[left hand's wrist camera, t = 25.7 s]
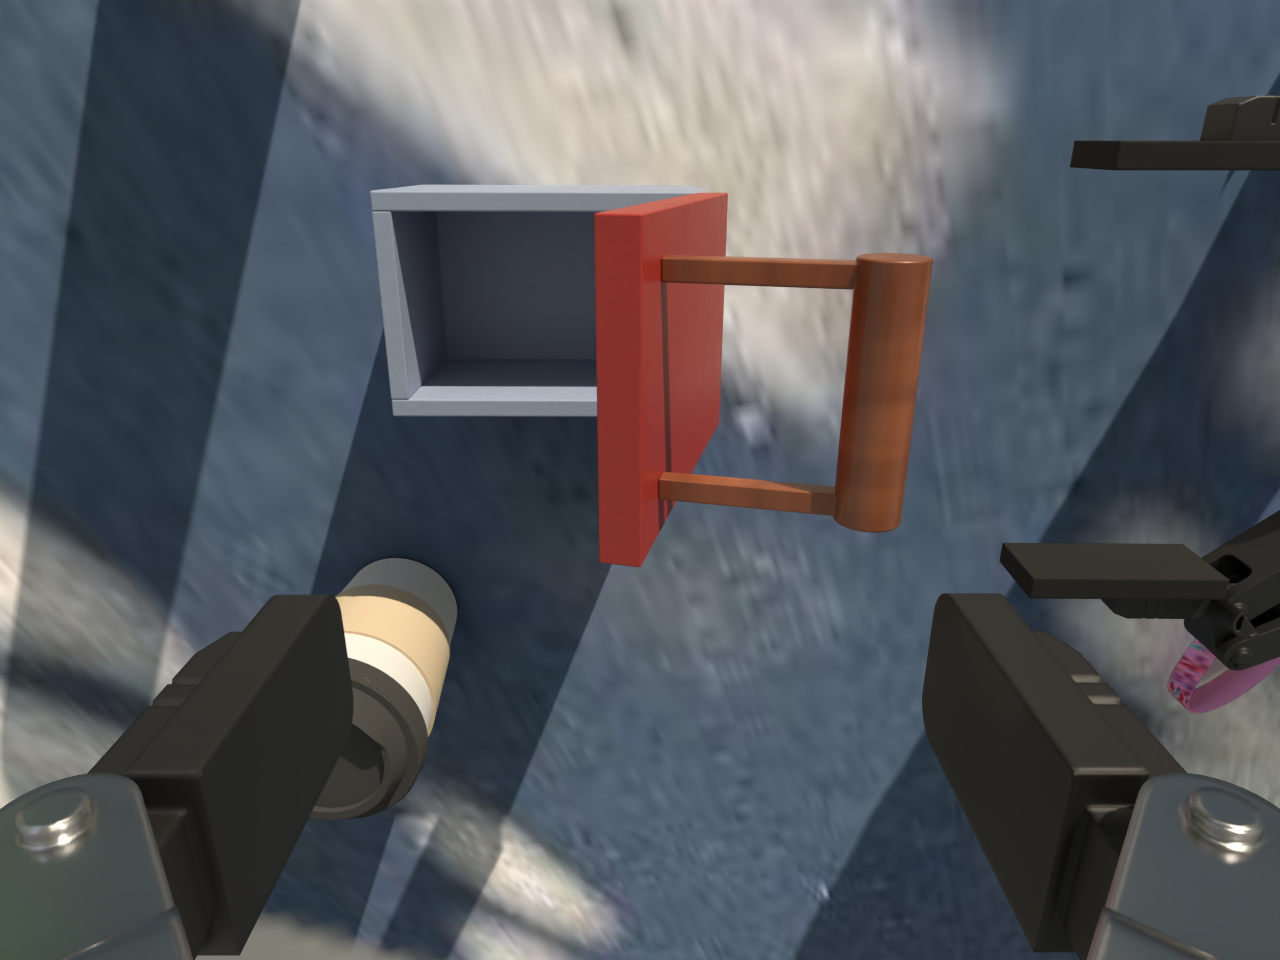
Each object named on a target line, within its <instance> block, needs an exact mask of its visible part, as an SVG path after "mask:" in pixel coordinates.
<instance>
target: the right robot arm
mask: <svg viewBox="0 0 1280 960" xmlns="http://www.w3.org/2000/svg"><path fill="white" fill-rule="evenodd" d="M1070 167H1075V168H1090V169H1104V170H1280V96H1249V97H1235V98H1226V99H1223V100H1221V101H1218V102H1216V103H1213V104H1211V105H1208V108H1207V112H1206V116H1205V121H1204V125H1203V129H1202V134H1201V138H1200V141H1075V142H1074V148H1073V153H1072V159H1071V164H1070ZM1000 562H1001V564H1002V565H1003V566H1004V567H1005V569H1006V570H1007V571H1008V572H1009V573H1010V575H1011V576H1012V577H1013V578H1014V580H1015V581H1016V582H1017V583H1018V584H1019V586H1020V587H1021V588H1022V589H1023V591H1024V592H1025V593H1026V594H1027V596H1028V597H1029V598H1064V599H1101V600H1102V601H1103V602H1104V603H1105V604H1106V605H1107V606H1108V607H1109V608H1110V609H1111V610H1112V611H1113V612H1114V613H1115V614H1118V615H1120V616H1123V617H1125V618H1146V619H1155V618H1157V619H1185V620H1184V626H1185V628H1186V629H1187V631H1188V632H1189V633H1190V634H1192V635H1193V636H1194V637H1195V638H1196V639H1197V640H1198V641H1199V642H1200V643H1201V644H1202V645H1203V646H1205V647H1206V648H1207V649H1208V650H1209V651H1210V652H1211V653H1212V654H1213V655H1214V656H1215V657H1216V658H1218V659H1219V660H1220V661H1221V662H1222V663H1223V664H1224V665H1225V666H1226V667H1228V668H1229V669H1231V670H1236V671H1240V670H1245V669H1248V668H1250V667H1253V666H1256V665H1259V664H1262V663H1264V662H1267V661H1270V660H1273V659H1276V658H1278V657H1280V510H1279V511H1278V512H1276V513H1274V514H1273V515H1271V516H1269V517H1268V518H1266V519H1264V520H1263V521H1261V522H1260V523H1258V524H1256V525H1255V526H1253V527H1251V528H1250V529H1248V530H1247V531H1245V532H1243V533H1242V534H1240V535H1238V536H1237V537H1235V538H1233V539H1232V540H1230V541H1229V542H1227V543H1225V544H1224V545H1222V546H1220V547H1219V548H1217V549H1216V550H1214V551H1212V552H1211V553H1209V554H1207V555H1206V556H1204V557H1203V558H1200V557H1199V556H1198V555H1196V554H1195V553H1194V552H1192V551H1191V550H1190V549H1188V548H1187V547H1186V546H1185V545H1183V544H1094V543H1003V544H1002V550H1001V556H1000ZM1231 583H1237V584H1235V585H1234V586H1233V585H1232V584H1231Z"/></svg>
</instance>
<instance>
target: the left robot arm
mask: <svg viewBox="0 0 1280 960" xmlns="http://www.w3.org/2000/svg"><path fill="white" fill-rule="evenodd" d="M353 704H354V702H353V690H352V683H351V676H350V669H349V662H348V655H347V648H346V641H345V634H344V627H343V620H342V613H341V608H340V605H339V602H338V600H337V599H336V597H335V596H333V595H274V596H273V597H271V598H270V599H269V600H268V602H267V603H266V604H265V605H264V606H263V607H262V609H261V610H260V611H259V612H258V613H257V615H256V616H255V617H254V618H253V619H252V621H251V622H250V623H249V624H248V625H247V626H246V628H245V629H244V630H243V631H242V632H230V633H228V634H227V635H225V636H223V637H222V638H220V639H218V640H217V641H215V642H213V643H212V644H210V645H209V646H207V647H205V648H204V649H202V650H200V651H199V652H197V653H196V654H195V655H194V656H193V657H192V658H191V659H190V660H189V661H188V662H187V663H186V665H185V666H184V667H183V668H182V669H181V670H180V671H179V672H178V673H177V675H176V676H175V677H174V678H173V679H172V684H168V685H167V686H166V687H165V688H164V689H163V690H162V691H161V692H160V693H159V695H158V696H157V697H156V698H155V699H154V700H153V706H148V707H147V708H146V709H145V710H144V711H143V712H142V713H141V715H140V716H139V717H138V718H137V719H136V720H135V721H134V722H133V723H132V725H131V726H130V727H129V728H128V729H127V730H126V731H125V732H124V733H123V735H122V736H121V737H120V738H119V739H118V740H117V741H116V742H115V743H114V745H113V746H112V747H111V748H110V749H109V750H108V751H107V752H106V753H105V755H104V756H103V757H102V758H101V759H100V760H99V761H98V762H97V763H96V765H95V766H94V767H93V768H92V769H91V770H90V771H89V772H88V774H83V775H77V776H73V777H68V778H64V779H61V780H58V781H55V782H51V783H49V784H46V785H44V786H41V787H39V788H36V789H34V790H32V791H30V792H28V793H26V794H24V795H22V796H20V797H18V798H17V799H15V800H13V801H12V802H10V803H8V804H7V805H5V806H4V807H3V808H1V809H0V960H195V958H196V956H197V955H240V953H241V951H242V949H243V947H244V946H245V943H246V942H247V940H248V937H249V936H250V934H251V932H252V930H253V928H254V926H255V924H256V922H257V920H258V918H259V916H260V914H261V912H262V910H263V908H264V906H265V904H266V902H267V900H268V898H269V896H270V894H271V892H272V890H273V888H274V886H275V884H276V882H277V880H278V878H279V876H280V874H281V872H282V870H283V868H284V866H285V864H286V862H287V860H288V858H289V856H290V854H291V852H292V850H293V848H294V846H295V844H296V842H297V840H298V838H299V836H300V834H301V832H302V830H303V828H304V826H305V824H306V822H307V820H308V818H309V816H310V814H311V812H312V810H313V808H314V806H315V804H316V802H317V800H318V798H319V796H320V794H321V792H322V790H323V788H324V786H325V784H326V782H327V780H328V778H329V776H330V774H331V773H332V771H333V769H334V767H335V765H336V763H337V761H338V759H339V757H340V755H341V753H342V751H343V749H344V747H345V745H346V742H347V740H348V737H349V734H350V730H351V725H352V719H353ZM922 710H923V719H924V725H925V730H926V733H927V736H928V739H929V742H930V744H931V746H932V748H933V750H934V752H935V754H936V756H937V758H938V760H939V762H940V764H941V766H942V768H943V770H944V772H945V774H946V776H947V778H948V780H949V782H950V784H951V786H952V788H953V790H954V792H955V794H956V796H957V798H958V800H959V802H960V804H961V806H962V808H963V810H964V812H965V814H966V816H967V818H968V820H969V822H970V824H971V826H972V828H973V830H974V832H975V834H976V836H977V838H978V840H979V842H980V844H981V846H982V848H983V850H984V853H985V855H986V857H987V859H988V861H989V863H990V865H991V867H992V869H993V871H994V873H995V875H996V877H997V879H998V881H999V883H1000V885H1001V887H1002V889H1003V891H1004V893H1005V895H1006V897H1007V899H1008V901H1009V903H1010V905H1011V907H1012V909H1013V911H1014V913H1015V915H1016V917H1017V919H1018V921H1019V923H1020V925H1021V927H1022V929H1023V931H1024V933H1025V935H1026V937H1027V939H1028V941H1029V943H1030V945H1031V947H1032V949H1033V951H1034V952H1076V953H1077V955H1078V957H1079V959H1080V960H1280V809H1279V808H1277V807H1276V806H1275V805H1273V804H1272V803H1270V802H1268V801H1267V800H1265V799H1263V798H1262V797H1260V796H1258V795H1256V794H1254V793H1252V792H1250V791H1248V790H1246V789H1244V788H1241V787H1239V786H1236V785H1234V784H1231V783H1229V782H1225V781H1222V780H1219V779H1216V778H1212V777H1207V776H1203V775H1197V774H1189V773H1187V772H1186V771H1185V770H1184V769H1183V768H1182V767H1181V766H1180V764H1179V763H1178V762H1177V761H1176V760H1175V759H1174V758H1173V757H1172V756H1171V754H1170V753H1169V752H1168V751H1167V750H1166V749H1165V748H1164V747H1163V745H1162V744H1161V743H1160V742H1159V741H1158V740H1157V739H1156V738H1155V736H1154V735H1153V734H1152V733H1151V732H1150V731H1149V730H1148V729H1147V727H1146V726H1145V725H1144V724H1143V723H1142V722H1141V721H1140V720H1139V718H1138V717H1137V716H1136V715H1135V714H1134V713H1133V712H1132V711H1131V710H1130V708H1129V707H1128V706H1127V705H1126V704H1121V698H1120V697H1119V696H1118V695H1117V694H1116V693H1115V692H1114V690H1113V689H1112V688H1111V687H1110V686H1109V685H1108V684H1107V683H1103V682H1102V677H1101V676H1100V675H1099V674H1098V672H1097V671H1096V670H1095V669H1094V668H1093V667H1092V666H1091V665H1090V663H1089V662H1088V661H1087V660H1086V659H1085V658H1084V657H1083V656H1082V655H1081V653H1080V652H1078V651H1077V650H1075V649H1074V648H1072V647H1070V646H1069V645H1067V644H1065V643H1064V642H1062V641H1061V640H1059V639H1057V638H1056V637H1054V636H1052V635H1051V634H1049V633H1048V632H1046V631H1044V630H1032V629H1031V628H1030V627H1029V625H1028V624H1027V623H1026V622H1025V621H1024V619H1023V618H1022V617H1021V616H1020V615H1019V613H1018V612H1017V611H1016V610H1015V609H1014V607H1013V606H1012V605H1011V604H1010V603H1009V601H1008V600H1007V599H1006V598H1005V597H1004V596H1003V595H1001V594H997V593H944V594H942V595H940V596H939V598H938V600H937V602H936V605H935V609H934V615H933V622H932V629H931V636H930V643H929V650H928V658H927V665H926V672H925V679H924V686H923V694H922Z"/></svg>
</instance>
